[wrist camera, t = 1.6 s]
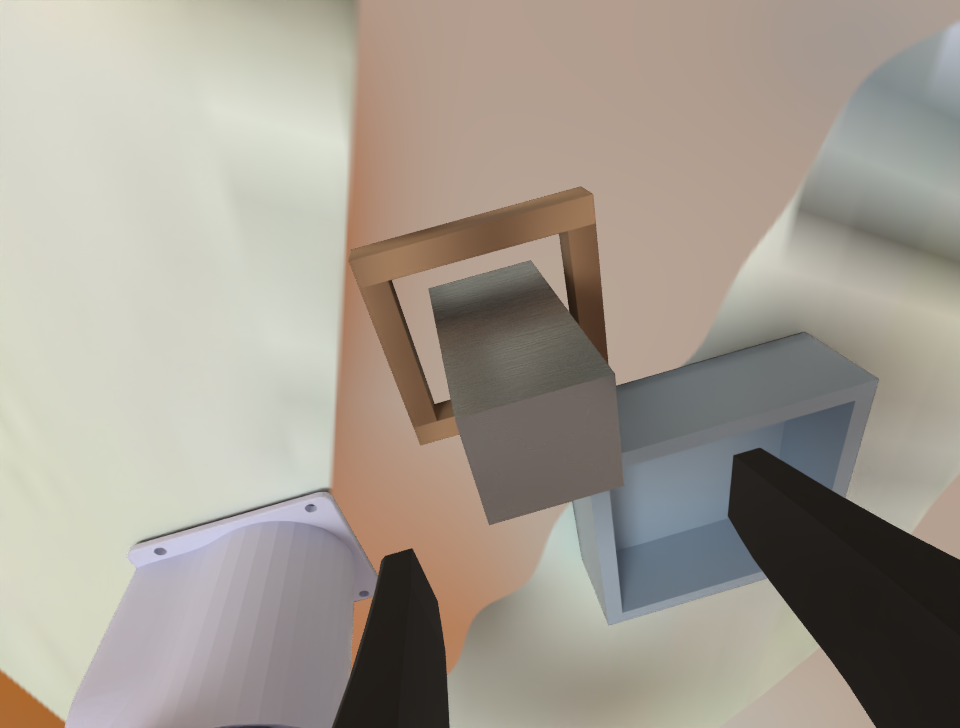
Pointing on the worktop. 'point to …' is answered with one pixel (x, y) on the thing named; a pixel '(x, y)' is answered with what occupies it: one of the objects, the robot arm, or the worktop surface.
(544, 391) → the strut
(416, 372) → the socket
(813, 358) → the bin
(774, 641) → the worktop surface
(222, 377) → the worktop surface
